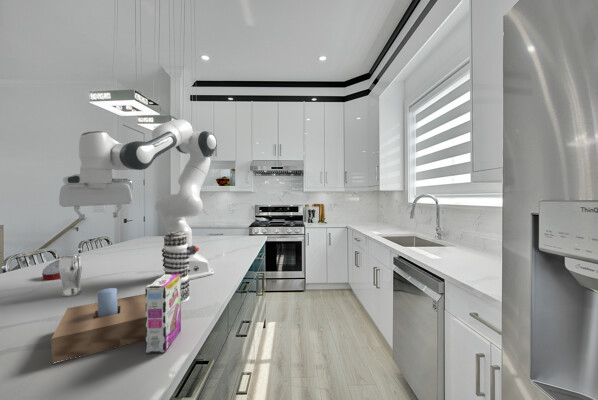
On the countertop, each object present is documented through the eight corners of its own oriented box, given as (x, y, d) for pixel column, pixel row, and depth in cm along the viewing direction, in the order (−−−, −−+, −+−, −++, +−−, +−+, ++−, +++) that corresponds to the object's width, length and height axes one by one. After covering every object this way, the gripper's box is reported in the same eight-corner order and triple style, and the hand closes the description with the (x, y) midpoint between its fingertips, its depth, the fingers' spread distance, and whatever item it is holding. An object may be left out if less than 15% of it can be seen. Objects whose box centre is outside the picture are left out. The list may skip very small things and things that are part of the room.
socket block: (146, 311, 90) (146, 293, 89) (151, 338, 73) (150, 316, 73) (68, 328, 79) (67, 308, 79) (52, 364, 62) (51, 338, 62)
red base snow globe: (70, 285, 132) (75, 268, 130) (42, 289, 123) (47, 271, 121) (64, 271, 138) (69, 255, 136) (37, 274, 129) (42, 256, 127)
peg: (118, 327, 79) (117, 286, 79) (117, 334, 75) (116, 291, 75) (99, 331, 77) (98, 289, 76) (97, 339, 73) (96, 294, 72)
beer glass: (69, 297, 103) (68, 258, 103) (55, 296, 104) (53, 258, 104) (87, 291, 110) (86, 254, 109) (73, 290, 111) (72, 254, 111)
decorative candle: (171, 295, 104) (169, 230, 103) (194, 295, 104) (193, 230, 103) (157, 305, 95) (155, 234, 94) (183, 305, 94) (182, 233, 94)
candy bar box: (166, 353, 66) (165, 286, 65) (145, 354, 65) (143, 287, 65) (182, 330, 77) (181, 272, 77) (164, 331, 76) (163, 273, 76)
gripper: (132, 178, 102) (134, 215, 102) (60, 179, 90) (62, 220, 91) (132, 178, 96) (134, 216, 97) (56, 178, 85) (59, 221, 86)
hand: (99, 218), depth 94 cm, fingers open, 8 cm apart
